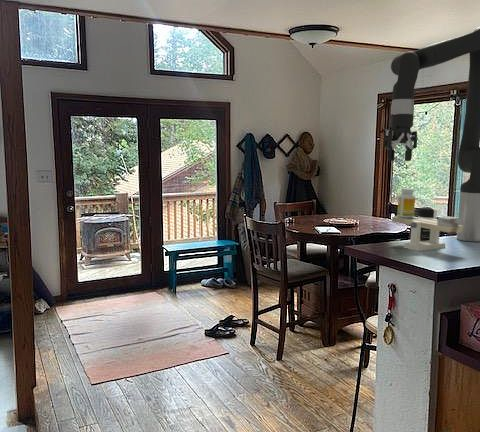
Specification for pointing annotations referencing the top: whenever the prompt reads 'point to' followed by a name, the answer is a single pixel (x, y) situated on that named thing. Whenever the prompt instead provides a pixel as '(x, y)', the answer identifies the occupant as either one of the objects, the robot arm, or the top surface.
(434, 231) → the stand
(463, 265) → the top surface
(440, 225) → the beam
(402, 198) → the supplement bottle
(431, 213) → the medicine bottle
